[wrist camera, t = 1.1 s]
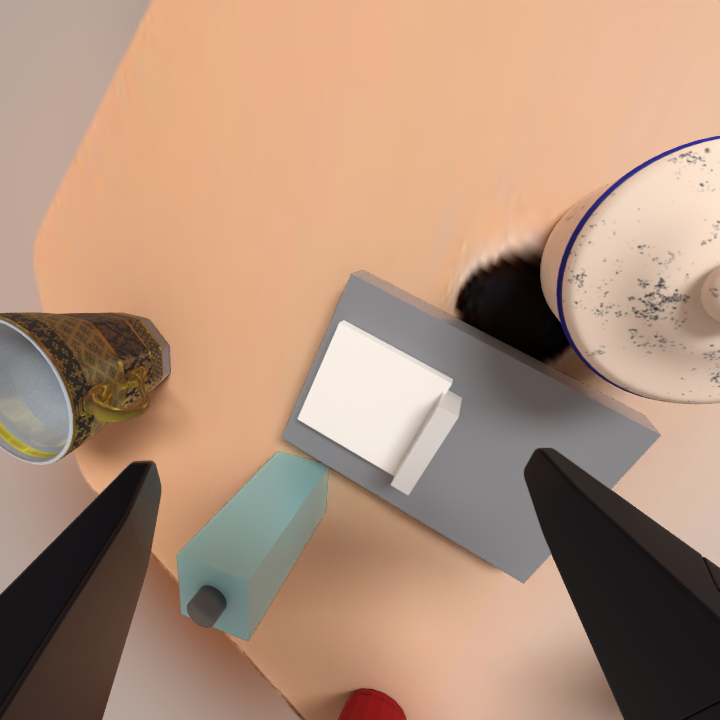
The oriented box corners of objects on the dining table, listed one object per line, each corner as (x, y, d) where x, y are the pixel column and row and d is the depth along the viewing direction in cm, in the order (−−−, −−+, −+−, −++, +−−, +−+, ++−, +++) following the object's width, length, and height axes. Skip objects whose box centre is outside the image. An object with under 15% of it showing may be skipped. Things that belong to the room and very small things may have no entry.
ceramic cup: (99, 391, 37) (-30, 443, 28) (87, 283, 33) (-65, 301, 24) (220, 425, 33) (119, 497, 24) (220, 310, 30) (103, 343, 21)
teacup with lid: (647, 374, 23) (784, 497, 12) (503, 298, 24) (512, 350, 13) (834, 159, 18) (1330, 52, 7) (642, 77, 19) (831, -117, 8)
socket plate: (644, 415, 23) (661, 434, 21) (521, 555, 28) (523, 583, 26) (363, 269, 26) (351, 273, 24) (296, 422, 31) (281, 437, 29)
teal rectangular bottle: (329, 464, 31) (237, 596, 20) (325, 511, 33) (237, 659, 21) (272, 449, 33) (155, 565, 21) (271, 494, 34) (161, 626, 23)
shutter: (468, 387, 23) (465, 406, 21) (411, 478, 26) (402, 504, 24) (343, 319, 24) (326, 329, 22) (302, 414, 27) (283, 432, 25)
